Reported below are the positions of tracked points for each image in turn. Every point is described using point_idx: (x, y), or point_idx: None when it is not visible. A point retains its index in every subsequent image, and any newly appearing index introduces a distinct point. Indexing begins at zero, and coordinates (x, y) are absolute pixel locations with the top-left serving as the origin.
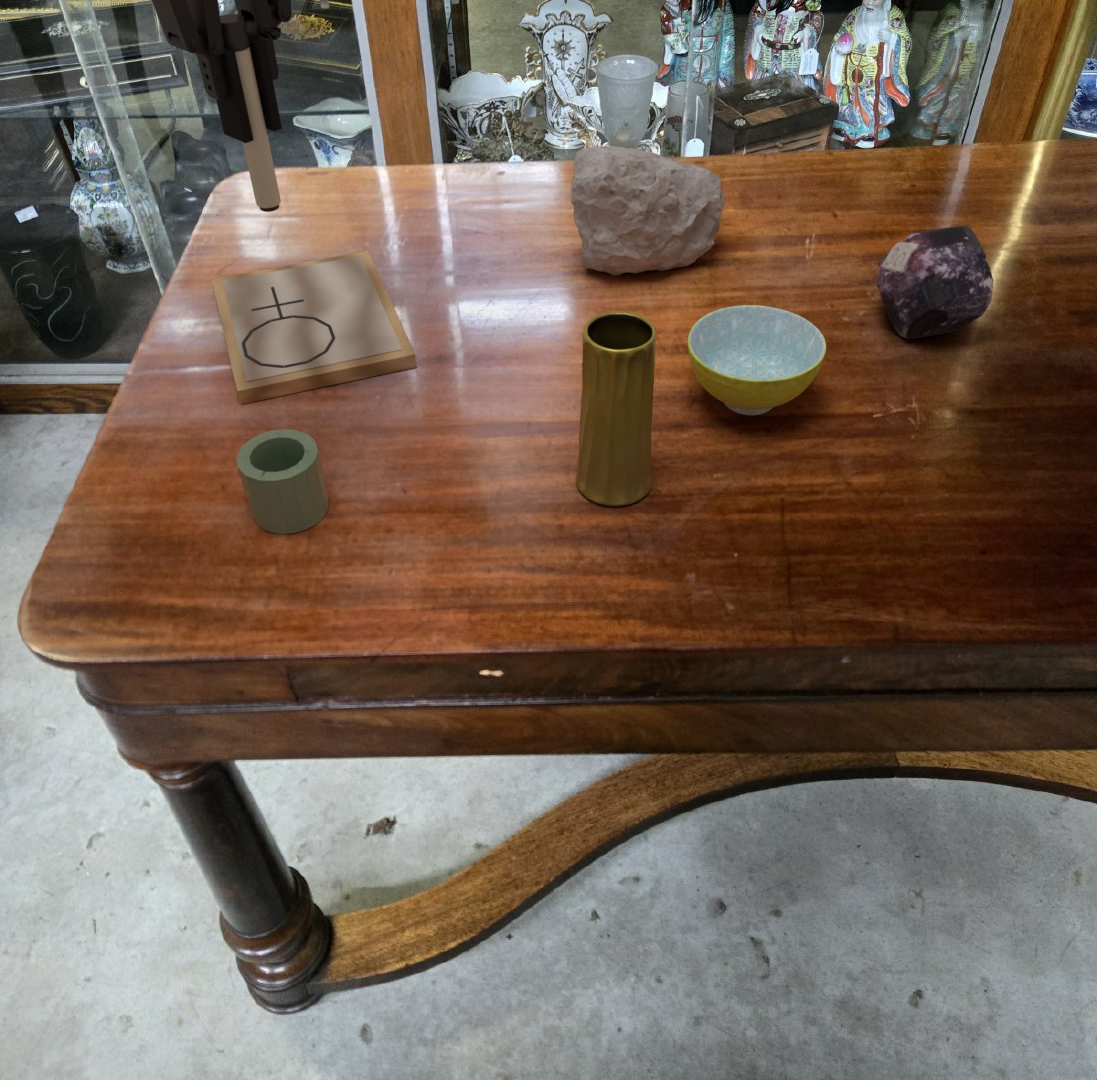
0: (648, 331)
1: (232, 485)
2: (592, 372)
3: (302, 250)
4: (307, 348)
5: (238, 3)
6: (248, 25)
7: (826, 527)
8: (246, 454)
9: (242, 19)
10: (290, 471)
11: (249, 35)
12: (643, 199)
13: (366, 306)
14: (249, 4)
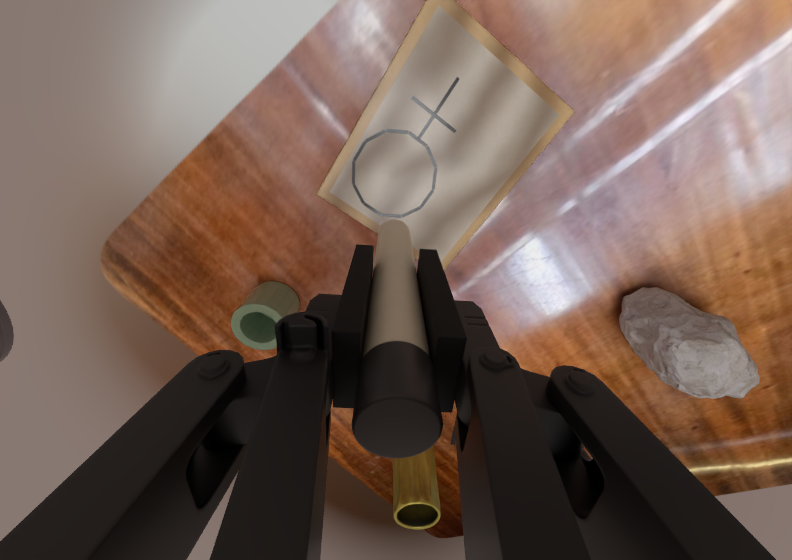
0: (434, 515)
1: (260, 258)
2: (395, 490)
3: (563, 7)
4: (395, 199)
5: (474, 427)
6: (464, 390)
7: (438, 479)
8: (242, 313)
9: (414, 455)
10: (255, 344)
11: (460, 366)
12: (670, 381)
13: (477, 194)
14: (464, 478)
